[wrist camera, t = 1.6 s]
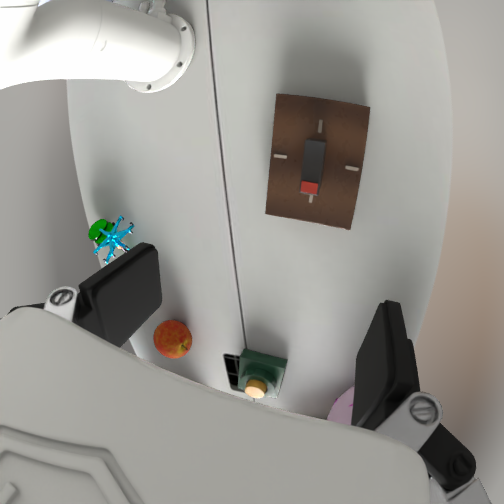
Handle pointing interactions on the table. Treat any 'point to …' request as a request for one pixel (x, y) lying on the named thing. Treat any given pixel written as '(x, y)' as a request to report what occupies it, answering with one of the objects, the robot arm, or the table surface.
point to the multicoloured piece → (108, 236)
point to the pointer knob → (312, 166)
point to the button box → (261, 371)
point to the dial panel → (335, 166)
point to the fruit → (172, 339)
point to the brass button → (255, 388)
